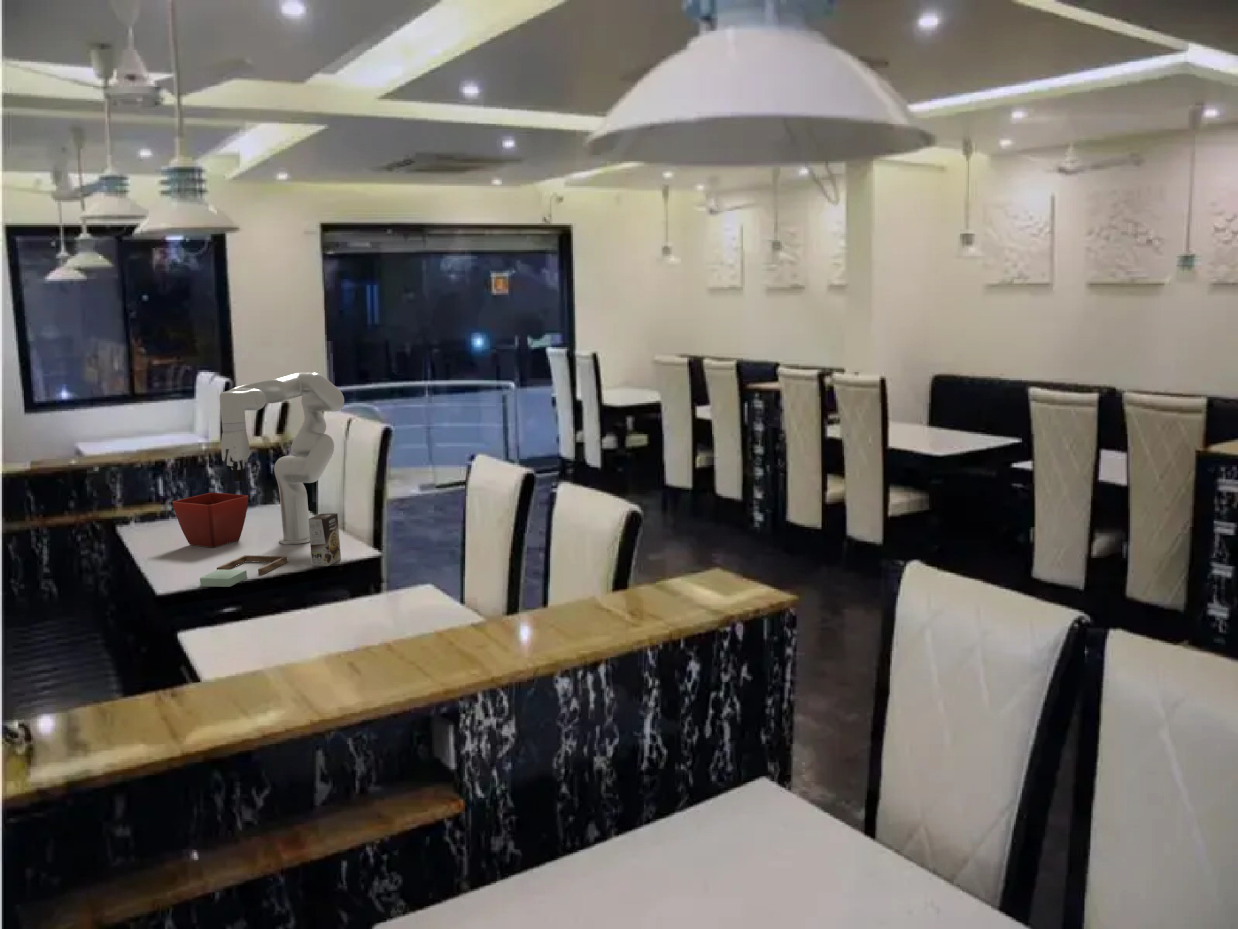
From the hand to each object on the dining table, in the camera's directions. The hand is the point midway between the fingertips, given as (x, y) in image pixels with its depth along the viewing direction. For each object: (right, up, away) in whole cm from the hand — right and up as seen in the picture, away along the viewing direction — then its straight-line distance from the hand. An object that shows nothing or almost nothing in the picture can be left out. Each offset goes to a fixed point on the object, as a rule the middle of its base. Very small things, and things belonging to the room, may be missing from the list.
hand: (239, 480), depth 343 cm
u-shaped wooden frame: (+8, -29, -9) cm, 31 cm away
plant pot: (-20, -24, +28) cm, 42 cm away
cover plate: (+5, -32, -25) cm, 41 cm away
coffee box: (+31, -28, -5) cm, 42 cm away
